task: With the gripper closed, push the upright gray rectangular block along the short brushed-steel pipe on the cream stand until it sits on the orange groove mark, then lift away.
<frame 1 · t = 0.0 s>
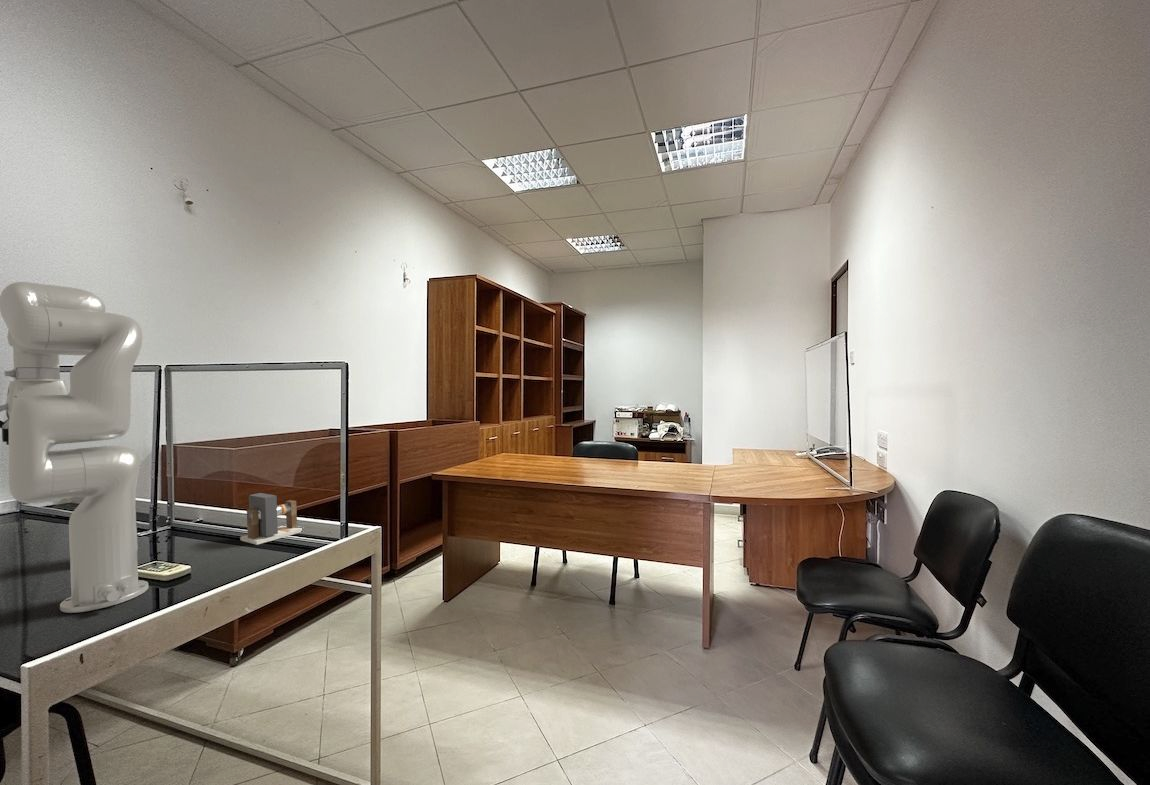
hand: (40, 442, 114), 31 cm above the table, tool pointing down, fingers open, 9 cm apart
pipe stand: (273, 535, 131), on the table
upright gray rectangular block: (263, 514, 129), point 7 cm above the table, slide at 0.0 cm
coffee box: (117, 558, 116), on the table
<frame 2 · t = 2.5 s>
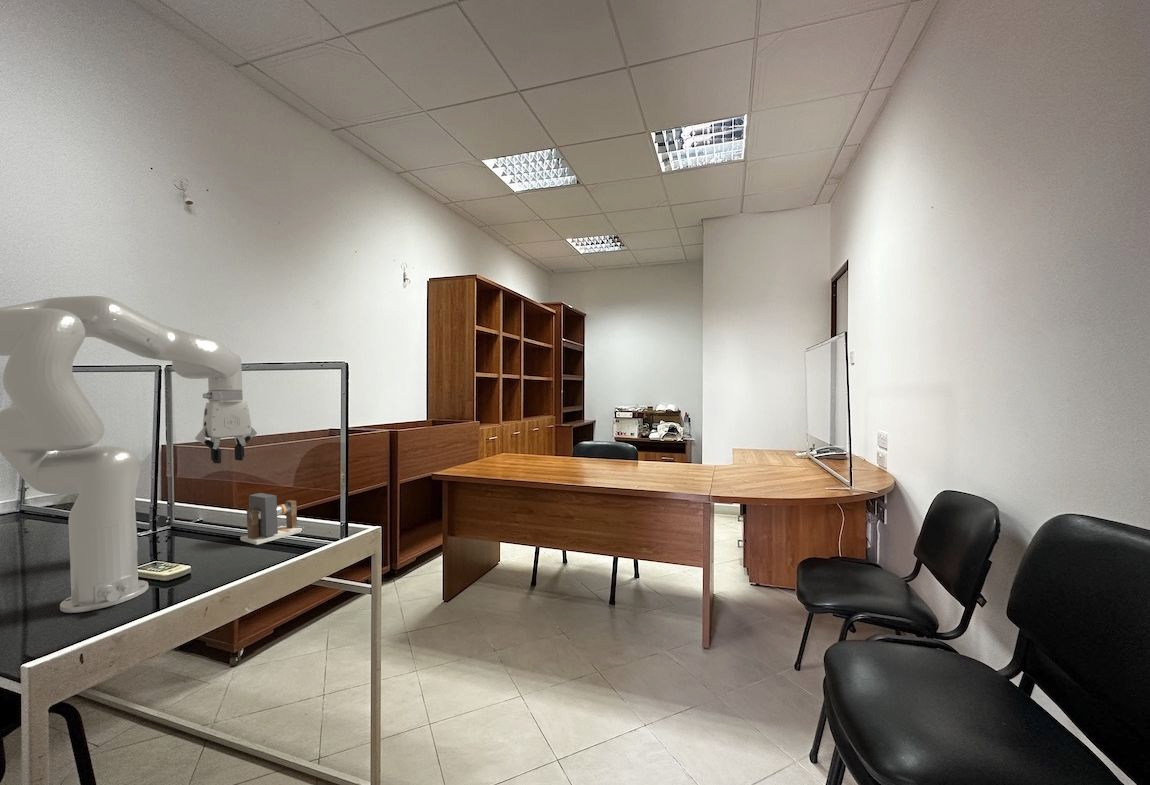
hand: (228, 460, 125), 23 cm above the table, tool pointing down, fingers open, 4 cm apart
nothing on the table moved.
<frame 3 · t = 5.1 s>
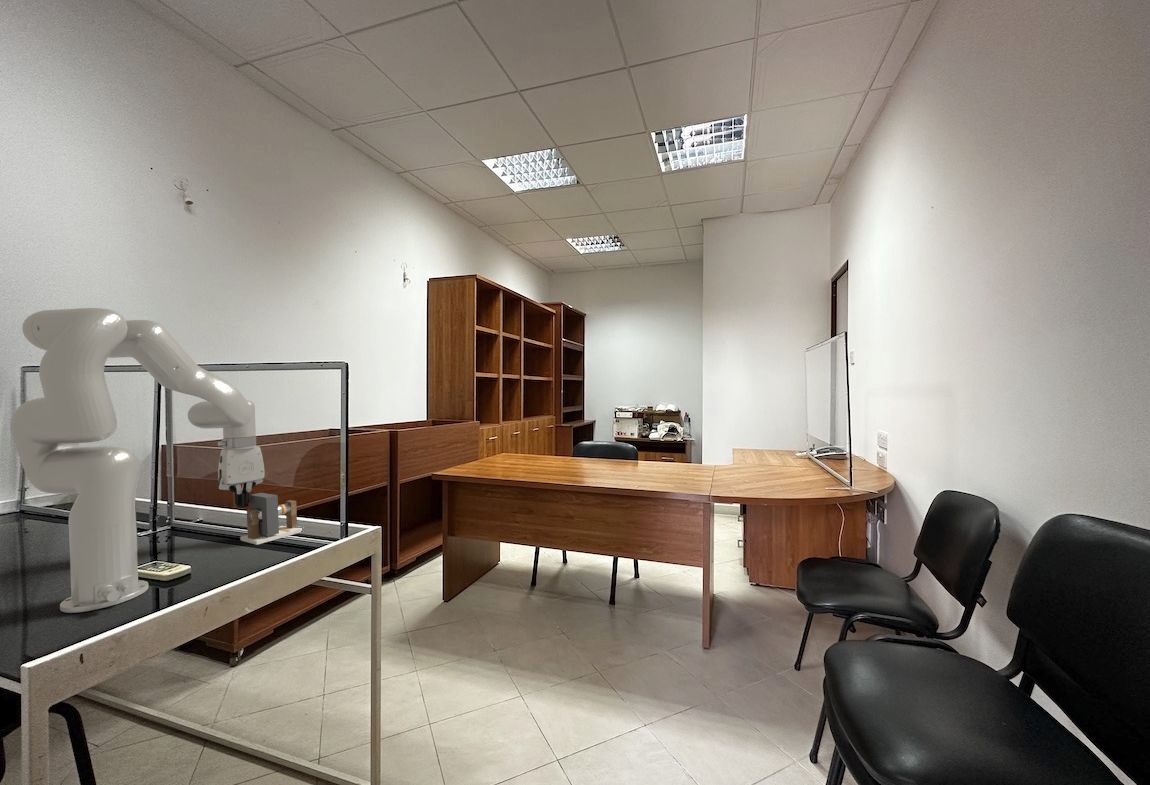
hand: (242, 506, 128), 10 cm above the table, tool pointing down, fingers closed
upright gray rectangular block: (264, 513, 129), point 7 cm above the table, slide at 0.3 cm, touching gripper
everything else where it was.
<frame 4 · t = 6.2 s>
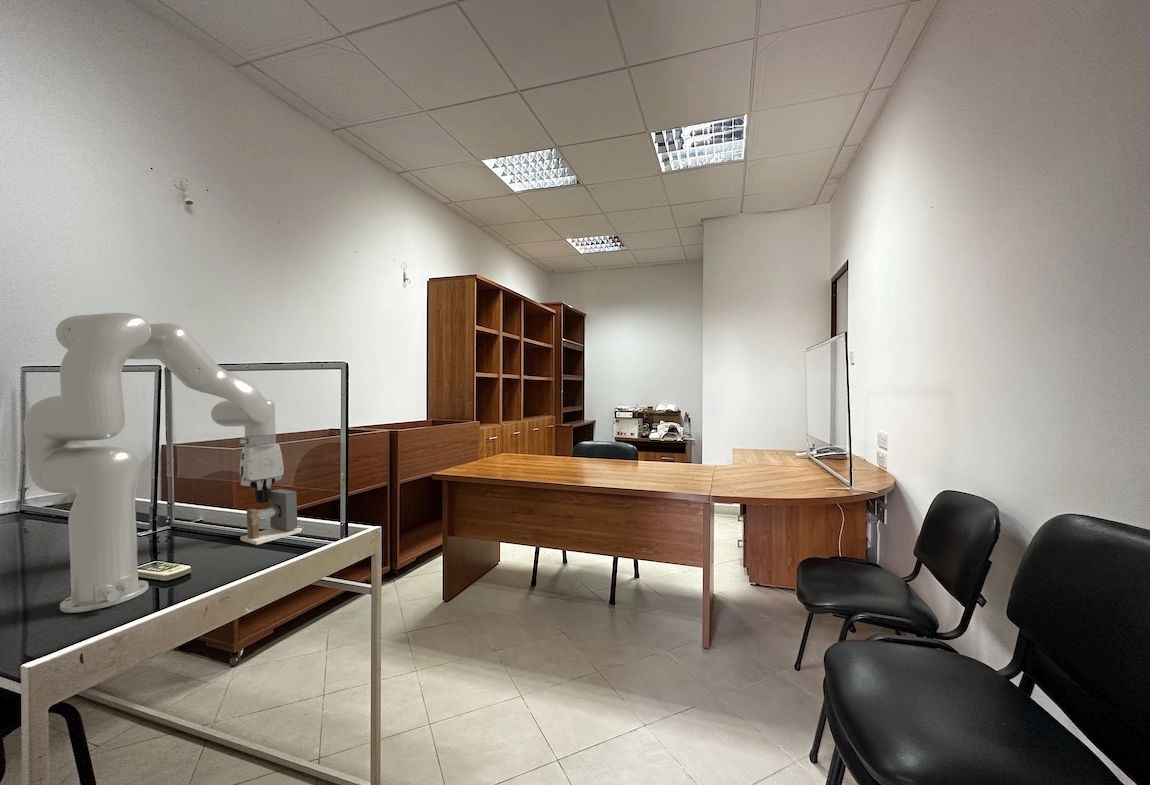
hand: (262, 502, 132), 10 cm above the table, tool pointing down, fingers closed
upright gray rectangular block: (283, 509, 134), point 7 cm above the table, slide at 5.5 cm, touching gripper, pipe stand
everything else where it was.
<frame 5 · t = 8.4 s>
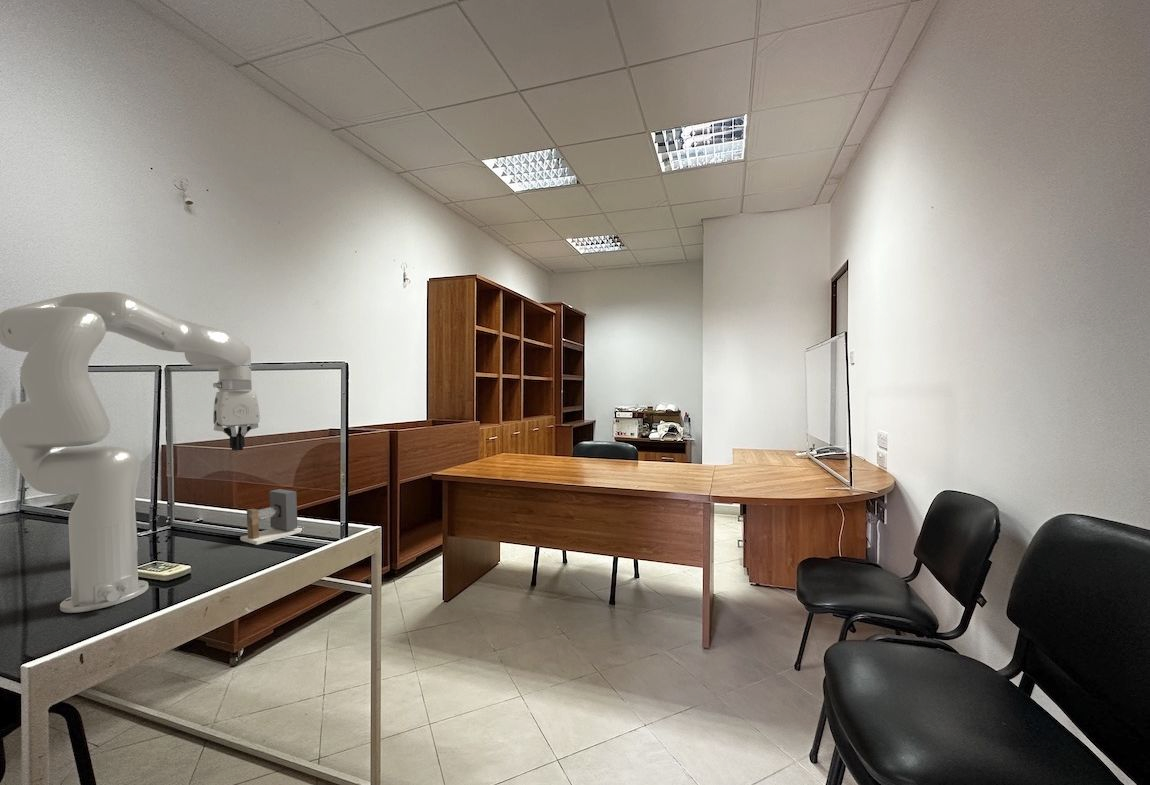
hand: (237, 449, 128), 26 cm above the table, tool pointing down, fingers closed
upright gray rectangular block: (283, 509, 134), point 7 cm above the table, slide at 5.5 cm, touching pipe stand
everything else where it was.
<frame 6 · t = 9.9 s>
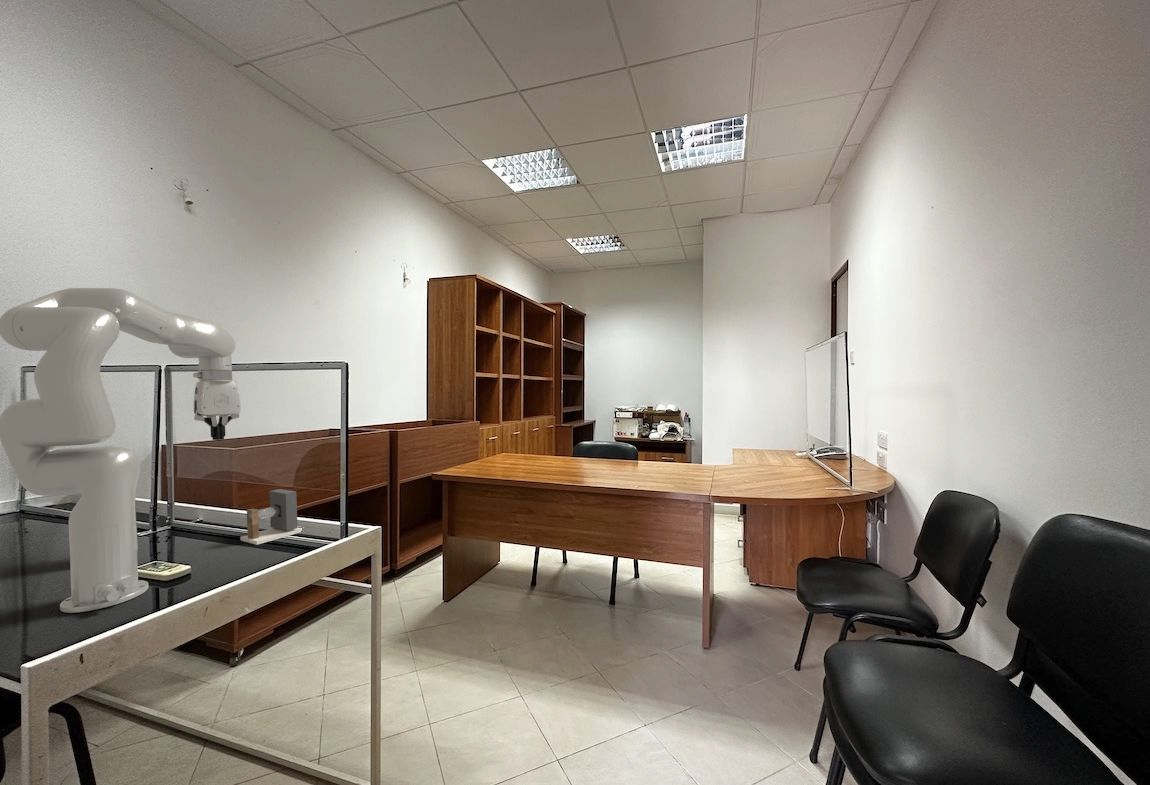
hand: (218, 439, 130), 29 cm above the table, tool pointing down, fingers closed
nothing on the table moved.
at the end: upright gray rectangular block slide at 5.5 cm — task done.
